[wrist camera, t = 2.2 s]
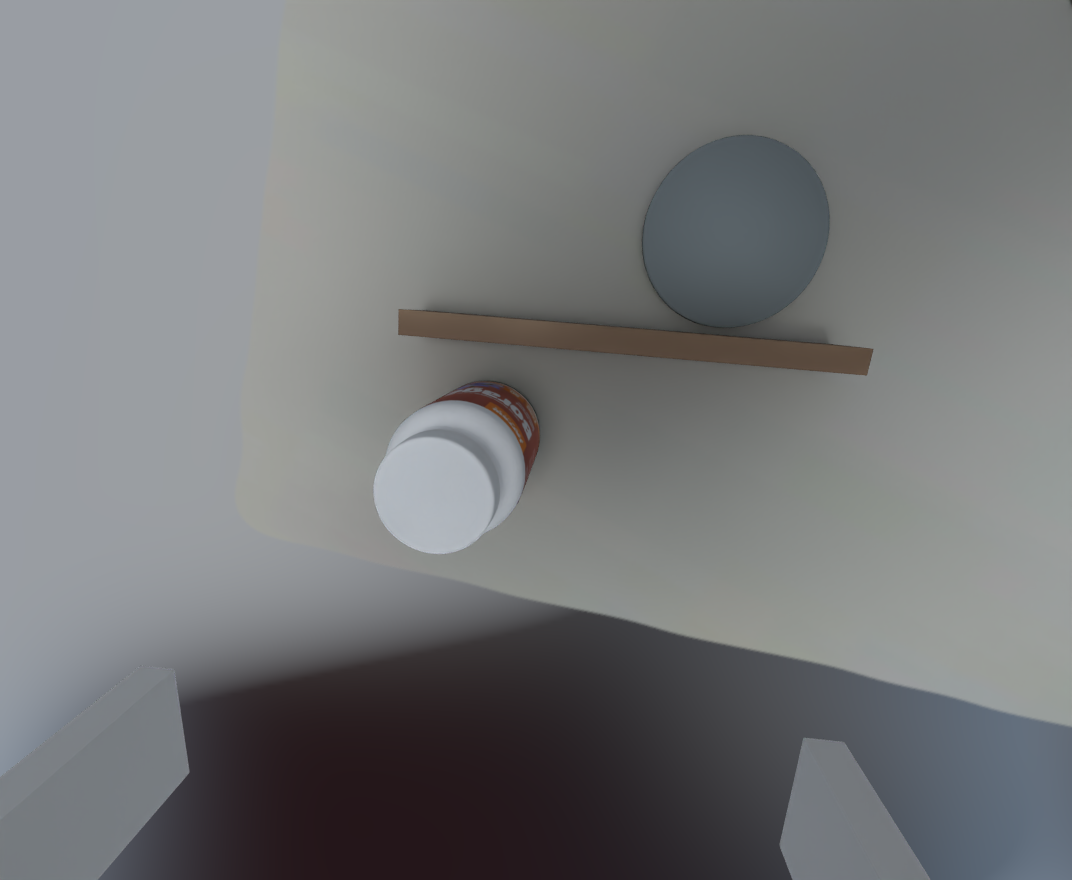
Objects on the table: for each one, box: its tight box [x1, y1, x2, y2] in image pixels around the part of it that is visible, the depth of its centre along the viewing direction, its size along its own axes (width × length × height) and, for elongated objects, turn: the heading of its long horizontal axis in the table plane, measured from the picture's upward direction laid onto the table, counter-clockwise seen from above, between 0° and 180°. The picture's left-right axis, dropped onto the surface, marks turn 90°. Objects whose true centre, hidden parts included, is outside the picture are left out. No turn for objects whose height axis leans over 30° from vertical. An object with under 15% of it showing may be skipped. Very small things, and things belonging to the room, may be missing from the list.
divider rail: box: [398, 309, 873, 375], centre depth 25 cm, size 1×22×4 cm, turn 86°
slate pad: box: [642, 135, 830, 327], centre depth 25 cm, size 9×9×1 cm
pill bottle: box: [373, 381, 540, 554], centre depth 24 cm, size 6×6×11 cm
